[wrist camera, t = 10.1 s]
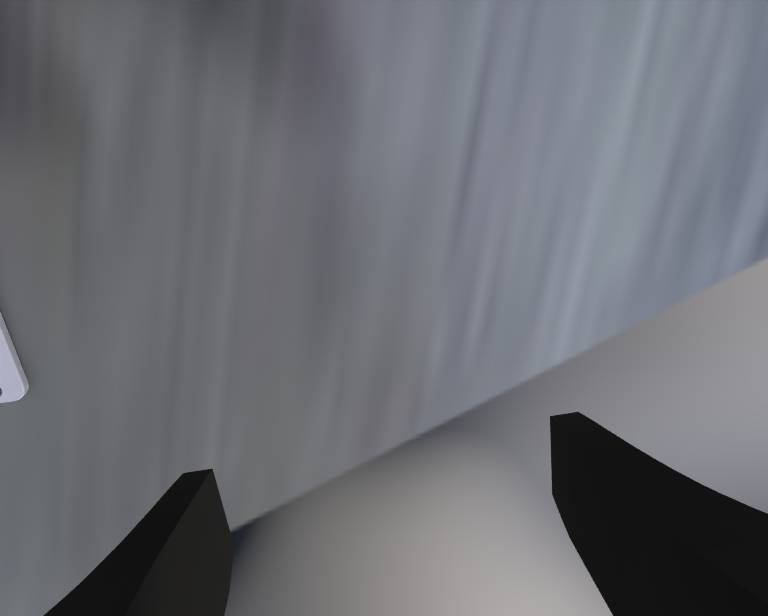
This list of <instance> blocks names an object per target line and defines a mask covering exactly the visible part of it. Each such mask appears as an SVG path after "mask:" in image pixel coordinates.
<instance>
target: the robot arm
mask: <svg viewBox="0 0 768 616" xmlns="http://www.w3.org/2000/svg"><path fill="white" fill-rule="evenodd" d="M0 388H1V390H2V392H0V403H5V402H11V401H16V400H19V399H20V398H22V397H23V396H24V395H25V394H26V392H27V391H28V388H29V385H28V381H27V378H26V376H25V373H24V371H23V368H22V365H21V363H20V360H19V358H18V355H17V353H16V350H15V348H14V345H13V343H12V340H11V337H10V335H9V332H8V330H7V327H6V325H5V322H4V320H3V317H2V314H1V312H0ZM550 432H551V464H552V465H551V466H552V495H553V497H554V500H555V503H556V505H557V508H558V510H559V513H560V515H561V518H562V520H563V523H564V525H565V528H566V530H567V532H568V535H569V537H570V539H571V541H572V543H573V544H574V546H575V548H576V550H577V552H578V554H579V555H580V557H581V559H582V561H583V563H584V564H585V566H586V568H587V570H588V572H589V573H590V575H591V577H592V578H593V581H594V582H595V584H596V586H597V588H598V589H599V591H600V593H601V595H602V597H603V598H604V600H605V602H606V603H607V605H608V607H609V609H610V611H611V612H612V614H613V616H768V514H767V513H764V512H762V511H760V510H757V509H755V508H752V507H750V506H748V505H745V504H743V503H741V502H739V501H736V500H734V499H732V498H730V497H727V496H725V495H723V494H720V493H718V492H716V491H714V490H712V489H710V488H708V487H706V486H704V485H702V484H700V483H698V482H696V481H694V480H692V479H690V478H689V477H686V476H685V475H683V474H681V473H679V472H677V471H675V470H673V469H672V468H670V467H668V466H666V465H664V464H663V463H661V462H659V461H657V460H656V459H654V458H652V457H650V456H649V455H647V454H646V453H644V452H642V451H641V450H639V449H637V448H635V447H634V446H632V445H631V444H629V443H627V442H626V441H624V440H623V439H621V438H620V437H618V436H616V435H615V434H613V433H611V432H610V431H608V430H607V429H605V428H604V427H602V426H601V425H599V424H597V423H596V422H594V421H593V420H591V419H589V418H588V417H586V416H585V415H583V414H581V413H579V412H574V413H568V414H561V415H555V416H550ZM233 548H234V544H233V541H232V537H231V533H230V530H229V526H228V523H227V519H226V515H225V512H224V508H223V505H222V501H221V498H220V494H219V490H218V487H217V483H216V480H215V476H214V473H213V469H208V470H201V471H195V472H188V473H183V474H182V475H181V476H180V477H179V478H178V479H177V481H176V482H175V483H174V484H173V485H172V486H171V487H170V488H169V489H168V491H167V492H166V493H165V494H164V495H163V496H162V497H161V499H160V500H159V501H158V502H157V503H156V504H155V505H154V506H153V508H152V509H151V510H150V511H149V512H148V513H147V514H146V515H145V517H144V518H143V519H142V520H141V521H140V522H139V523H138V524H137V525H136V526H135V528H134V529H133V530H132V531H131V532H130V533H129V534H128V535H127V536H126V537H125V539H124V540H123V541H122V542H121V543H120V544H119V545H118V546H117V547H116V548H115V549H114V550H113V551H112V552H111V553H110V554H109V555H108V556H107V557H106V558H105V559H104V560H103V561H102V562H101V563H100V564H99V565H98V566H97V567H96V568H95V569H94V570H93V571H92V572H91V573H90V574H89V575H88V576H87V577H86V578H85V579H84V580H83V581H82V582H81V583H80V584H79V585H78V586H77V587H76V588H74V589H73V590H72V591H71V592H70V593H69V594H68V595H67V596H66V597H65V598H63V599H62V600H61V601H60V602H59V603H58V604H56V605H55V606H54V607H53V608H52V609H51V610H49V611H48V612H47V613H46V614H45V615H44V616H224V613H225V609H226V605H227V600H228V595H229V590H230V581H231V572H232V560H233Z"/></svg>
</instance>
